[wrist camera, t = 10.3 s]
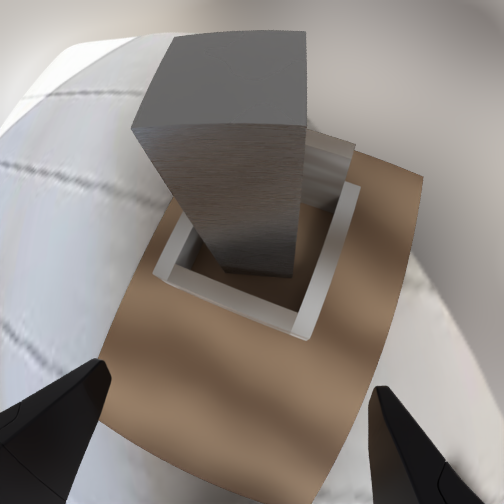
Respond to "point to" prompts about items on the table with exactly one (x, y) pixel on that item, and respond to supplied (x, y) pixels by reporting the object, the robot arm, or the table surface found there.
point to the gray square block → (233, 142)
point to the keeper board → (265, 334)
